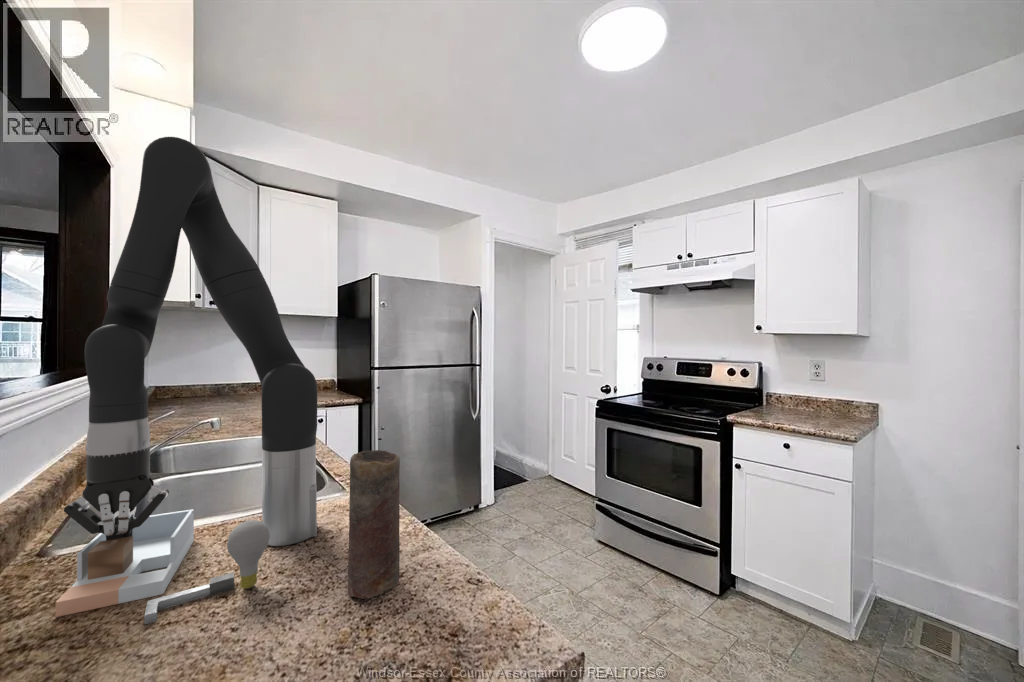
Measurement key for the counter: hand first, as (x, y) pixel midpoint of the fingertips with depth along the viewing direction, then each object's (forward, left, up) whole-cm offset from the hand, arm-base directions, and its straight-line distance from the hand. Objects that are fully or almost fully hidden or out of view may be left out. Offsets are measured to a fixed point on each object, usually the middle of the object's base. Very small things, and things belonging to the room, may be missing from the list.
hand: (119, 554), depth 68 cm
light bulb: (-19, +15, -3) cm, 24 cm away
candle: (-36, +24, -3) cm, 43 cm away
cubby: (-2, +2, -3) cm, 4 cm away
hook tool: (-13, +15, -3) cm, 20 cm away
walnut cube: (0, +3, -1) cm, 3 cm away
